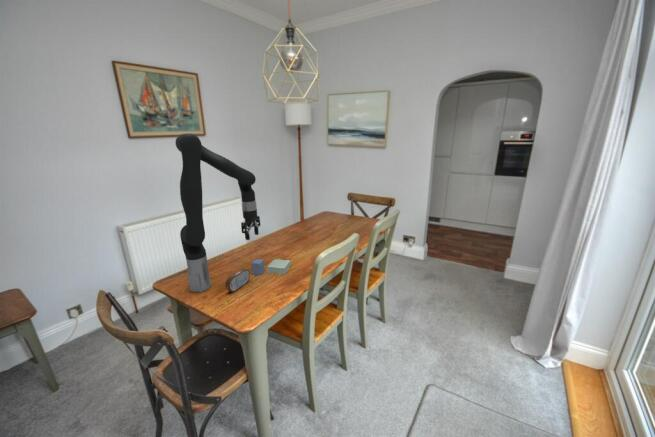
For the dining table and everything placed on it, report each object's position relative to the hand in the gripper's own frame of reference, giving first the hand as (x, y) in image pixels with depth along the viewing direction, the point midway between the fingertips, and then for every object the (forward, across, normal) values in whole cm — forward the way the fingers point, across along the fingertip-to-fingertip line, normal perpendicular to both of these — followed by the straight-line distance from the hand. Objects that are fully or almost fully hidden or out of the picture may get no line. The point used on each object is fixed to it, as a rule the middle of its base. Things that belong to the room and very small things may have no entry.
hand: (252, 237), depth 157 cm
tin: (+20, -20, -3) cm, 28 cm away
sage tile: (+20, +4, -14) cm, 24 cm away
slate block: (+20, -3, -4) cm, 20 cm away
